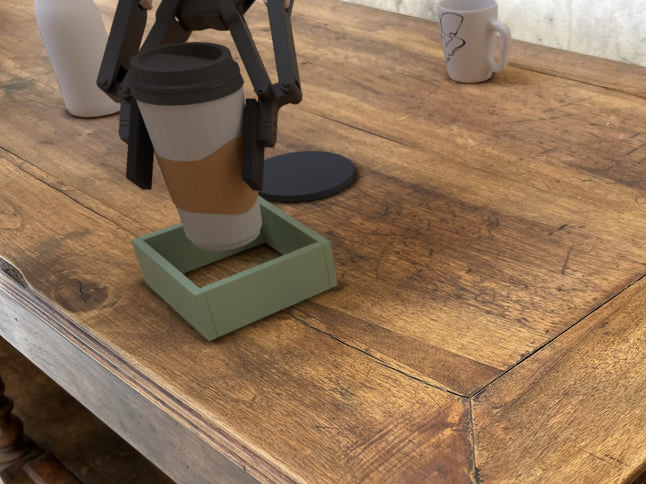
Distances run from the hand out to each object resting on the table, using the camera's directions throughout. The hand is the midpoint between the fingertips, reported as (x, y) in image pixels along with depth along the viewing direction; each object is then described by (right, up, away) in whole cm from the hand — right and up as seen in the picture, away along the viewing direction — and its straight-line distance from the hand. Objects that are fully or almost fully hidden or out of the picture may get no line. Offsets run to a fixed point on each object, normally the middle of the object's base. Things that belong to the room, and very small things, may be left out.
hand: (195, 184), depth 63 cm
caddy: (0, -7, +10) cm, 12 cm away
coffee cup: (0, -3, +7) cm, 7 cm away
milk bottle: (-31, +22, +46) cm, 59 cm away
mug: (+20, +29, +54) cm, 64 cm away
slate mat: (+1, +7, +27) cm, 28 cm away
